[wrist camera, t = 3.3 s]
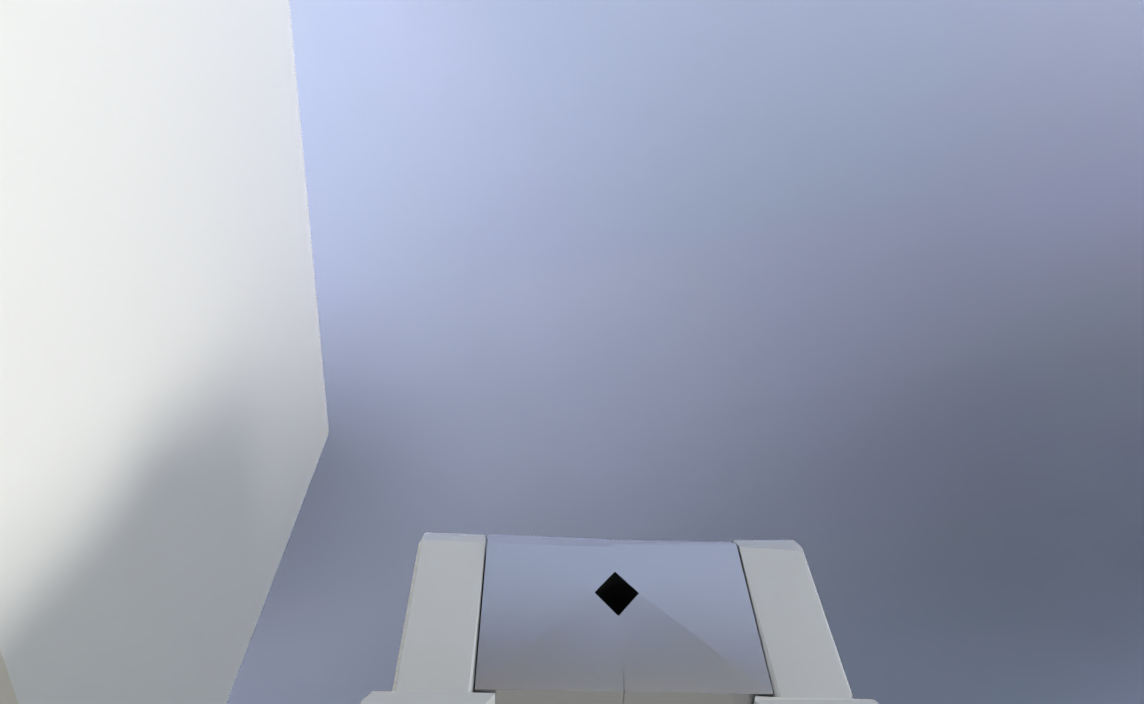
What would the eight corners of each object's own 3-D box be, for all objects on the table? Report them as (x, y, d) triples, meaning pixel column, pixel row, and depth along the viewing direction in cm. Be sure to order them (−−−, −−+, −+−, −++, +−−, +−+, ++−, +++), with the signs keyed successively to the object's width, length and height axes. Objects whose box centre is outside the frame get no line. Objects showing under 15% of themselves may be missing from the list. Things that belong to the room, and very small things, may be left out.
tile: (274, -169, 14) (-248, -102, 5) (329, 432, 19) (114, 996, 10) (120, -177, 14) (-683, -123, 5) (216, 428, 19) (-98, 991, 10)
